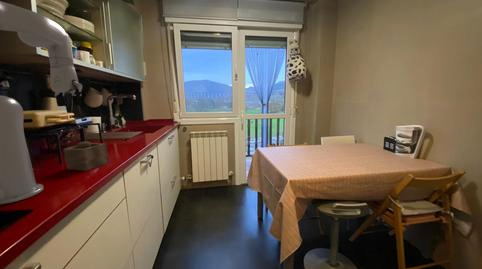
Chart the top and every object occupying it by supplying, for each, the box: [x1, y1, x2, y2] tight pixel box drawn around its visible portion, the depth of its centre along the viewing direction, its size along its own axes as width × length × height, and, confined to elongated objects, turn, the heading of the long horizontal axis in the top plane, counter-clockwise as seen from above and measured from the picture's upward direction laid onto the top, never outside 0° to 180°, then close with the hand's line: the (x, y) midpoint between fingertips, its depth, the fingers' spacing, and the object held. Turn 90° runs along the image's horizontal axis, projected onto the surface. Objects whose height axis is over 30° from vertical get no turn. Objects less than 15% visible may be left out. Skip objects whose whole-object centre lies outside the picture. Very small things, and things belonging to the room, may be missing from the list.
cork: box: [76, 141, 92, 149], centre depth 95 cm, size 6×6×11 cm
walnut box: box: [62, 142, 110, 172], centre depth 96 cm, size 11×11×9 cm
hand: (69, 105), depth 90 cm, fingers open, 9 cm apart
